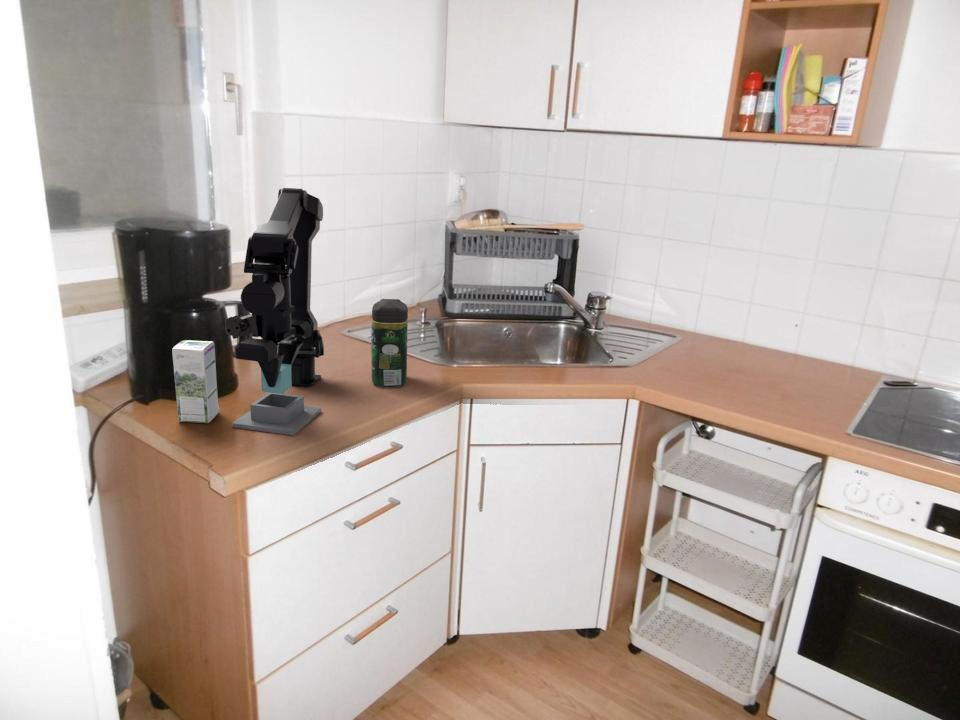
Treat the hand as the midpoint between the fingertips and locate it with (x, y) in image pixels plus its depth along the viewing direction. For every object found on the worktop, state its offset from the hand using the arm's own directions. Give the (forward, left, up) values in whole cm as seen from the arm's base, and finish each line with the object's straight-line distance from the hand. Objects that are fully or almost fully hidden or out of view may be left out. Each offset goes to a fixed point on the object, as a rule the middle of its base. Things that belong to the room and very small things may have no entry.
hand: (277, 383), depth 126 cm
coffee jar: (-27, +13, -8) cm, 31 cm away
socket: (0, 0, -7) cm, 7 cm away
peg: (0, 0, -1) cm, 1 cm away
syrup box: (+4, -14, -8) cm, 16 cm away
